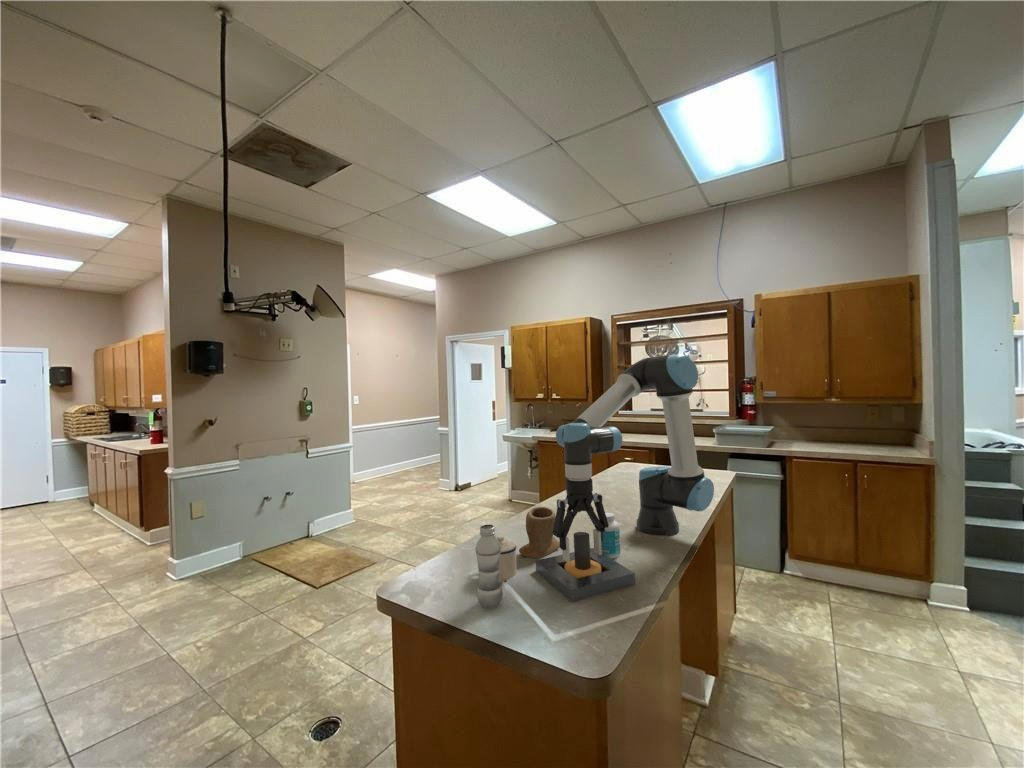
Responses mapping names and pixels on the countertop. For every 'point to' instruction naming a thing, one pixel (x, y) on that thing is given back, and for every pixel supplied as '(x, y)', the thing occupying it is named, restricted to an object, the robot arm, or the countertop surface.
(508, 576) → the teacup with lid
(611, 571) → the grey square socket block
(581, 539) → the peg on round base
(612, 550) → the pill bottle
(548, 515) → the stone cup
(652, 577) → the countertop surface
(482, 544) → the plastic bottle
